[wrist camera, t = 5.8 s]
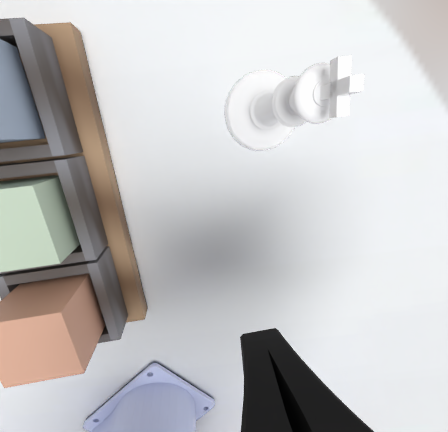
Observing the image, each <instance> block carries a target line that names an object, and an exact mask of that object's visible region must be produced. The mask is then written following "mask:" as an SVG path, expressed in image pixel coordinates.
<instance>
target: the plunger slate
mask: <svg viewBox="0 0 448 432" xmlns="http://www.w3.org/2000/svg"><path fill="white" fill-rule="evenodd" d="M35 139H45V134H44V131H43V128H42V125H41V122H40V119H39V116H38V112H37V109H36V106H35V103H34V100H33V97H32V94H31V90H30V87H29V84H28V81H27V78H26V75H25V72H24V68H23V65H22V62H21V59H20V56H19V53H18V50H17V47H15V46H13V45H11V44H9V43H7V42H5V41H3V40H1V39H0V143H5V142H15V141H25V140H35Z"/></svg>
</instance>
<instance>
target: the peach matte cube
mask: <svg viewBox="0 0 448 432" xmlns="http://www.w3.org/2000/svg"><path fill="white" fill-rule="evenodd" d="M104 327H105V323H104V320H103V317H102V313H101V310H100V307H99V304H98V301H97V298H96V295H95V291H94V288H93V285H92V282H91V279H90V276H89V274H84V275H77V276H71V277H64V278H57V279H51V280H44V281H37V282H31V283H24V284H19V285H18V286H17V287H16V288H15V289H14V290H13V291H11V292H10V293H9V294H8V295H7V296H6V297H5V298H3V299H2V300H1V301H0V381H1V383H2V385H3V387H4V388H7V387H12V386H18V385H23V384H29V383H34V382H39V381H45V380H50V379H55V378H61V377H66V376H71V375H77V374H82V373H84V372H85V370H86V368H87V366H88V363H89V361H90V359H91V357H92V354H93V352H94V350H95V348H96V345H97V343H98V341H99V339H100V336H101V334H102V332H103V329H104Z"/></svg>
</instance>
